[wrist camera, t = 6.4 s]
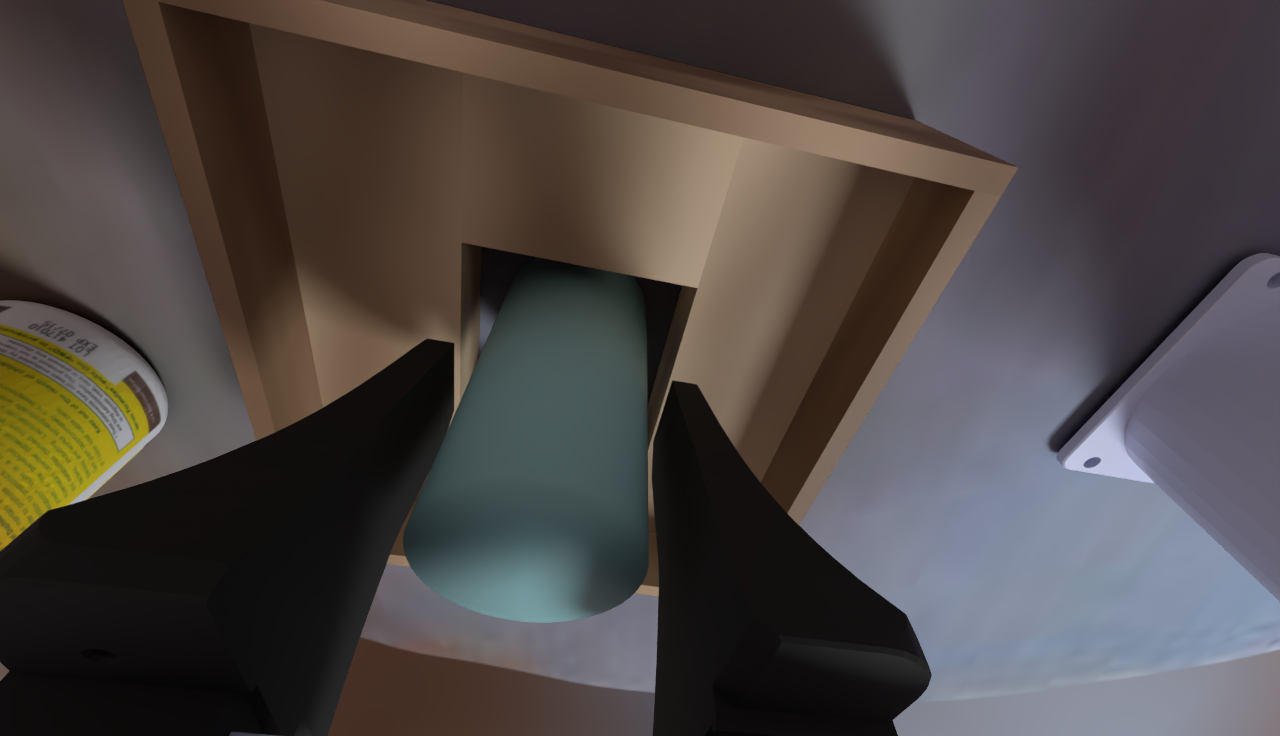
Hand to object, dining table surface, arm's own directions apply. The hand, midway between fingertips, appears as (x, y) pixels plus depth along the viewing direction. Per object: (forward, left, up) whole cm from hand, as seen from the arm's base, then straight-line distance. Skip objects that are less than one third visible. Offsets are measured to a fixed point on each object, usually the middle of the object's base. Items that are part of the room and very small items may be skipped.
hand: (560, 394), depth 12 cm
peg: (0, 0, -3) cm, 3 cm away
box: (0, 0, -3) cm, 3 cm away
